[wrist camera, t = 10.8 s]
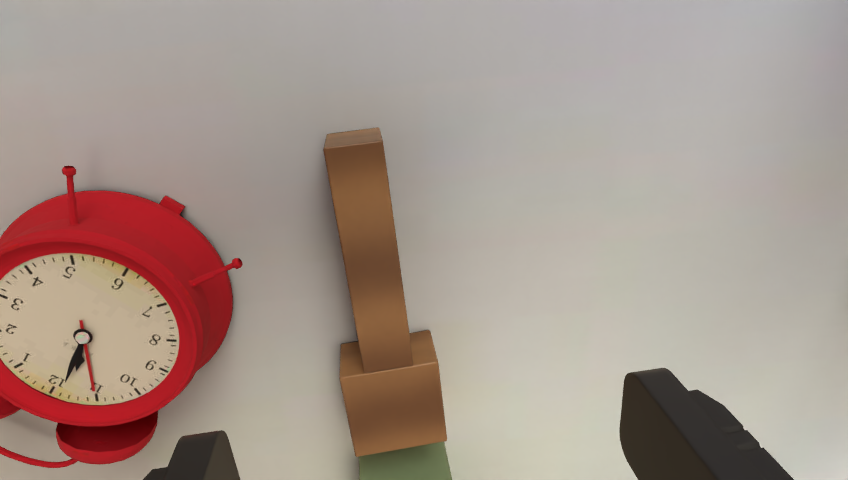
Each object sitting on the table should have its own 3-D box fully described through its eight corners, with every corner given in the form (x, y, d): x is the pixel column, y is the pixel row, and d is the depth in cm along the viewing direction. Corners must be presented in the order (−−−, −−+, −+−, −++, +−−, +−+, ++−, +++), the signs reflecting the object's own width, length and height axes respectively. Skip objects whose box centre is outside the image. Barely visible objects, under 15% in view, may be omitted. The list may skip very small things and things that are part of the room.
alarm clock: (276, 277, 22) (88, 573, 23) (277, 247, 28) (128, 482, 29) (17, 136, 19) (-199, 485, 19) (80, 136, 25) (-86, 402, 25)
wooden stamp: (299, 137, 24) (292, 152, 21) (405, 123, 24) (412, 136, 21) (355, 418, 30) (355, 457, 27) (438, 403, 30) (447, 441, 28)
